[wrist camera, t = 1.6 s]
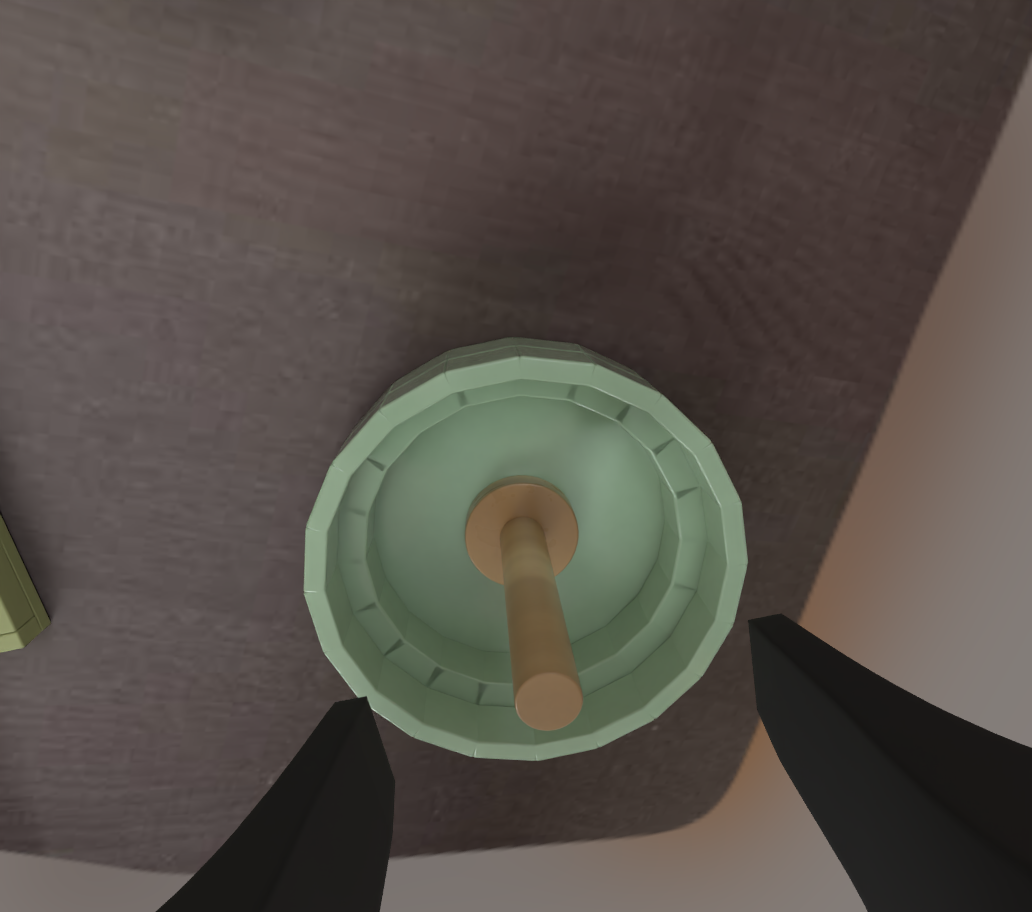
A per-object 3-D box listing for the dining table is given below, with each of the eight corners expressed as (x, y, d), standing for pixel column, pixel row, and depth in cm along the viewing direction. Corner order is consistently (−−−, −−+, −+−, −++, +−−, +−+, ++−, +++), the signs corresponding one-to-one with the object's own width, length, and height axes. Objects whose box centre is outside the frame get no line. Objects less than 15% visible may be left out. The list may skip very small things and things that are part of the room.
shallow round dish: (720, 641, 25) (765, 714, 21) (386, 711, 25) (370, 796, 21) (676, 299, 21) (721, 313, 17) (284, 382, 21) (243, 413, 17)
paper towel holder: (583, 564, 23) (648, 756, 15) (478, 586, 23) (481, 790, 15) (565, 464, 22) (622, 607, 14) (453, 487, 22) (441, 645, 14)
